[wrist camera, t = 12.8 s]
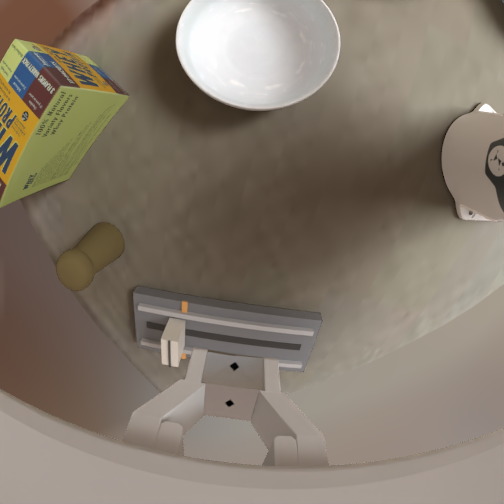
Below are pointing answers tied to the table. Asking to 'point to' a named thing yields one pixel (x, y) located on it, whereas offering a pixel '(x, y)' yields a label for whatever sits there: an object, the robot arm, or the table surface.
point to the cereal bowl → (258, 50)
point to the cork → (89, 256)
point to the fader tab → (173, 342)
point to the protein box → (49, 115)
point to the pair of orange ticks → (184, 309)
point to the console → (227, 327)
